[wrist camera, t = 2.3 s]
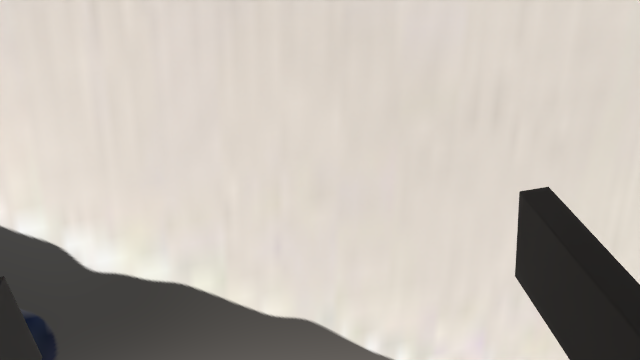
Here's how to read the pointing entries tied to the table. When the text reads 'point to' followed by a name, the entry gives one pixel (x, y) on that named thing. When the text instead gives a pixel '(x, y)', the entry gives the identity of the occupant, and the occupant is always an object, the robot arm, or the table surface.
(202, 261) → the table surface
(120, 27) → the table surface
